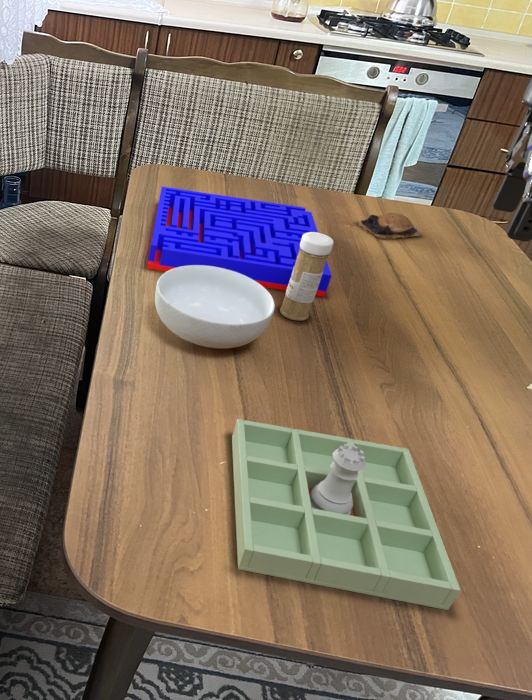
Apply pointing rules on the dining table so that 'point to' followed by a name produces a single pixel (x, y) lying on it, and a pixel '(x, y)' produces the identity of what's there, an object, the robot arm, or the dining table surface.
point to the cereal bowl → (213, 306)
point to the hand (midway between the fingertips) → (509, 223)
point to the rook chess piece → (338, 481)
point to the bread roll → (389, 226)
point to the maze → (231, 236)
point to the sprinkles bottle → (306, 275)
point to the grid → (337, 518)
